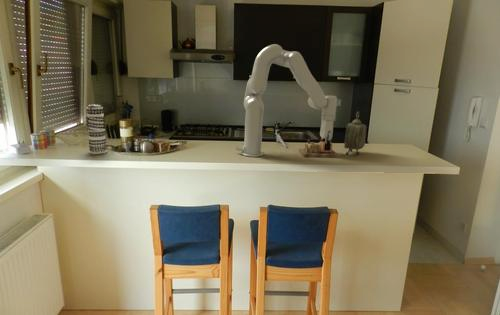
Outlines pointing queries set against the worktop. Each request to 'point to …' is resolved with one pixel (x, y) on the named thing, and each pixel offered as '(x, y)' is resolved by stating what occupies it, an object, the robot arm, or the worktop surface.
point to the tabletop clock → (355, 135)
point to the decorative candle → (96, 129)
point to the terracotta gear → (322, 145)
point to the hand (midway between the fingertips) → (325, 148)
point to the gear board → (320, 154)
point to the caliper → (280, 140)
